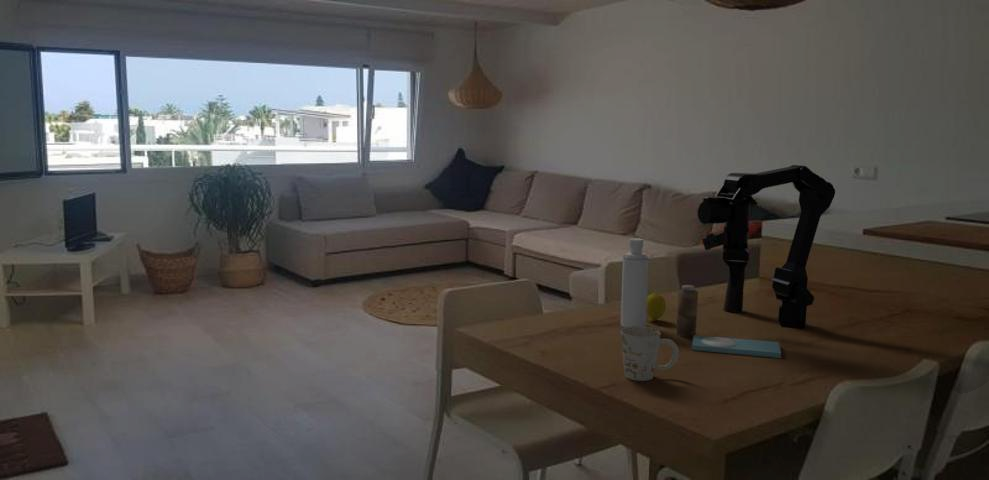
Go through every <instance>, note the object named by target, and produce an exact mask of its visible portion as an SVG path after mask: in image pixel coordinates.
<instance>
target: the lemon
mask: <svg viewBox="0 0 989 480" xmlns="http://www.w3.org/2000/svg"><path fill="white" fill-rule="evenodd" d="M665 313H666V301H665V297H663V295H661V294H660V293H658V292H657V291H655V292H653V293H650V294H649V295H647V313H646V316H648V317H649V318H650V319H652V320H653V321H655V322H656V321H657V320H658V319H660V318H662V317H663V316H664V314H665Z"/></svg>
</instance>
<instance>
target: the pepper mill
mask: <svg viewBox="0 0 989 480" xmlns="http://www.w3.org/2000/svg"><path fill="white" fill-rule="evenodd" d="M698 297H699V291H698V290H696V287H695V285H691V284H683V285H681V289H678V294H677V312H676V313H677V318H676V336H678V337H682V338H693V336H694V335H697V320H698V319H697V314H698Z"/></svg>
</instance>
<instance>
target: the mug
mask: <svg viewBox="0 0 989 480" xmlns="http://www.w3.org/2000/svg"><path fill="white" fill-rule="evenodd" d="M620 338H621V339H620V340H621V348H622V349H621V350H622V361H623V371H624V377H625V378H626V379H628V380H631V381H638V382H645V381H650V380H653V378H654V376H655V370H668V369H670V368H671V367H673V366H674V365H675V364H676V362H678V359H679V357H680V356H679V354H680V350H679V347H678V344H677V343H675V341H674V340H672V339H670V338H661V331H660V330H659V329H657V328H654V327H650V326H646V327H644V326H630V327H623V328H621V330H620ZM660 345H661V346H662V345H666V346H669V347H670V348H671V349H672V357H671V359H670V361H668V363H667V364H665V365H656V363H657V359H658V353H659V347H660Z"/></svg>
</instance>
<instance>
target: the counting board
mask: <svg viewBox="0 0 989 480" xmlns="http://www.w3.org/2000/svg"><path fill="white" fill-rule="evenodd" d="M691 351H699V352H701V351H702V352H713V353H723V354H732V355H734V354H735V355H741V356H742V355H743V356H745V355H746V356H753V357H754V356H755V357H764V358H765V357H766V358H777V359H781V358H782V352H781V347H780V342H778V341H765V340H758V339H757V340H756V339H755V340H753V339H743V338H731V337H722V336H710V335H709V336H708V335H697V334H696V335H694V336H693V337H692V343H691Z"/></svg>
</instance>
